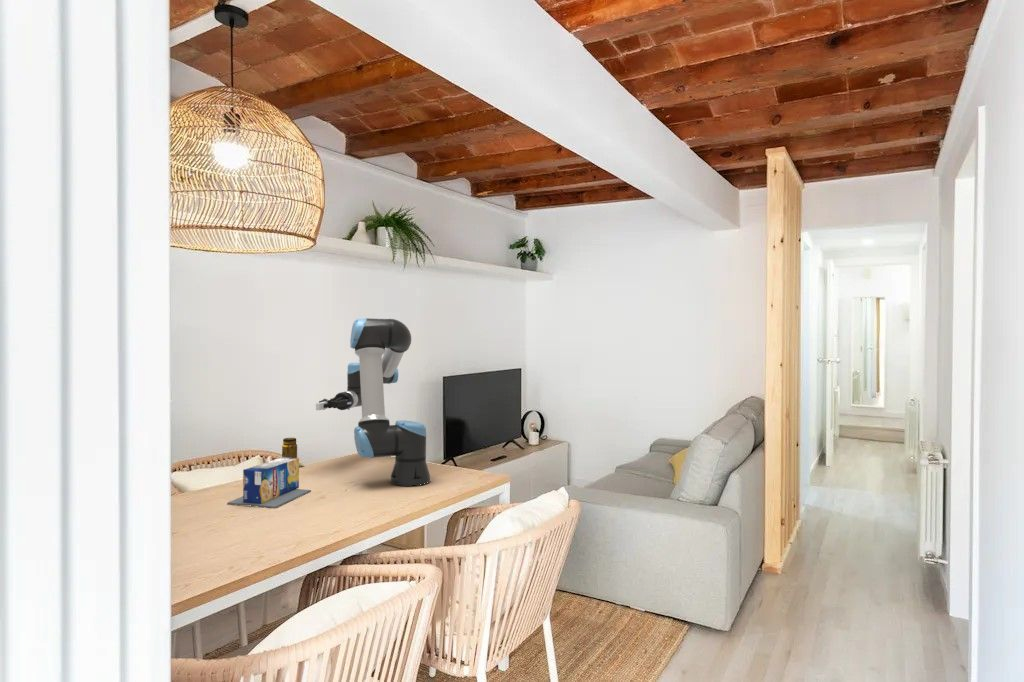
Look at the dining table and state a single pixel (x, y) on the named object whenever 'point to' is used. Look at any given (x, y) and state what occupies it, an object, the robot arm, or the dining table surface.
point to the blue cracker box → (270, 480)
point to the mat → (274, 499)
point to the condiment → (289, 448)
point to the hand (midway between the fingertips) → (317, 406)
